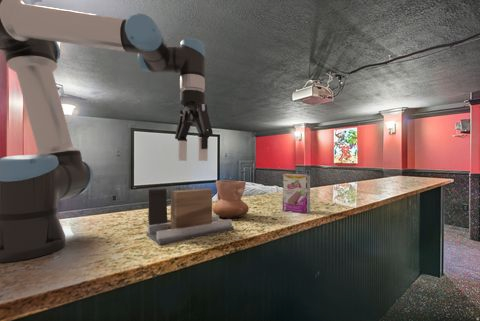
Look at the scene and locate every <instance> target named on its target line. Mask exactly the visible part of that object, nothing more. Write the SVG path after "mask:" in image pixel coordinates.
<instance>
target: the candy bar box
mask: <svg viewBox="0 0 480 321" xmlns="http://www.w3.org/2000/svg"><path fill="white" fill-rule="evenodd" d="M283 210H285V211H284V212H289V211H292V212H291V213H296V212H301V213H300V214H305V213H307V214H309V213H310V212H311V174H297V173H296V174H294V173H285V174H282V211H283ZM309 211H310V212H309ZM308 212H309V213H308Z"/></svg>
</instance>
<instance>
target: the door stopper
mask: <svg viewBox="0 0 480 321" xmlns="http://www.w3.org/2000/svg"><path fill="white" fill-rule="evenodd" d="M167 195H168V194H167V188H149V189H148V205H147V206H148V208H147V209H148V213H147V216H148V217H147V218H148V219H147V221H148V225H155V224H161V223H168V206H167V205H168V202H167V201H168V200H167V198H168V197H167Z"/></svg>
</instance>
